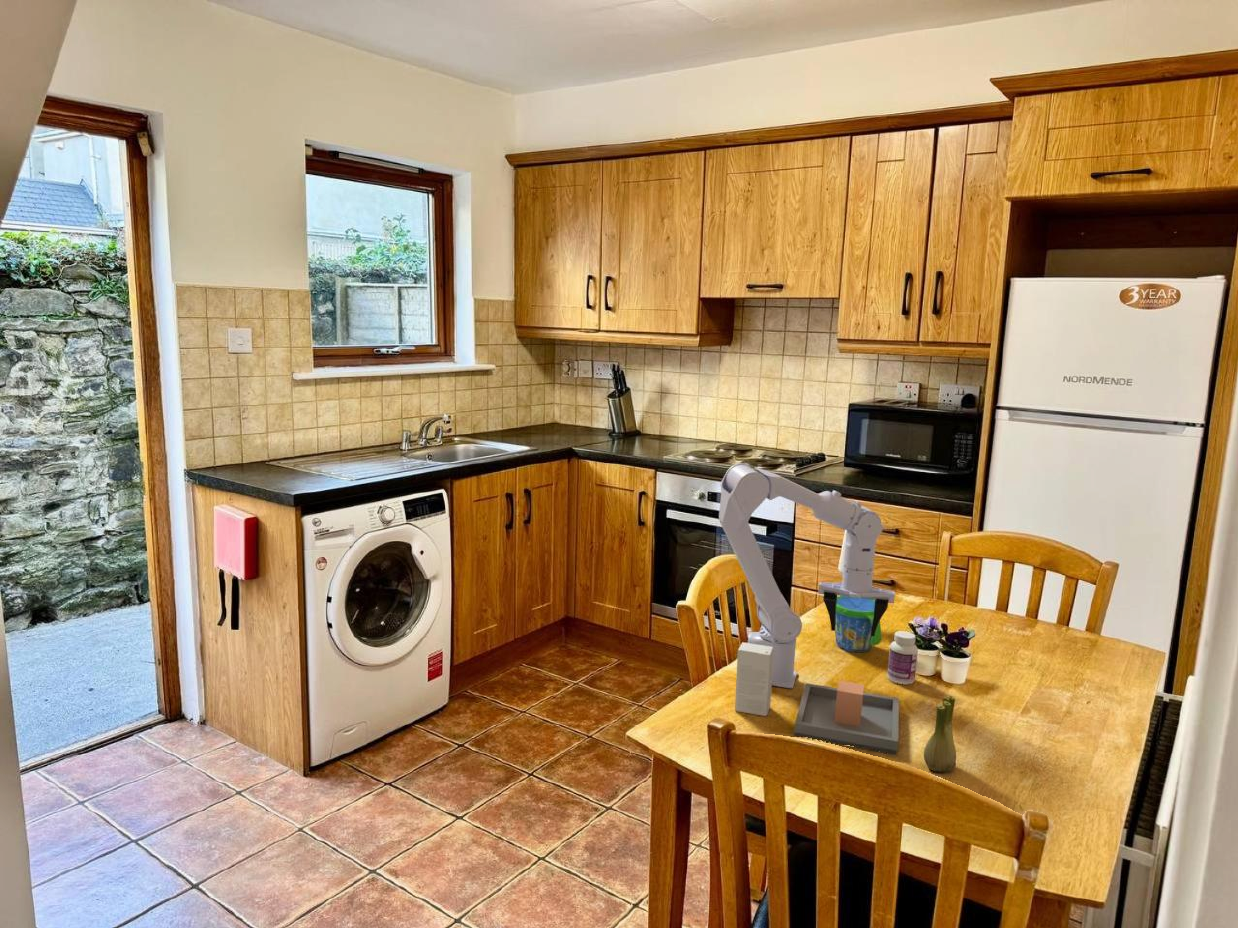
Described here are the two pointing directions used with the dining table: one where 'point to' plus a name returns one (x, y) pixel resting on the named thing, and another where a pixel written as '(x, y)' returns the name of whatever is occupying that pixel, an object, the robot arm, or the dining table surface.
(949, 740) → the fennel bulb
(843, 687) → the terracotta block
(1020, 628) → the dining table surface
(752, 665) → the skincare box
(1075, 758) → the dining table surface
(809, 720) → the grey bin
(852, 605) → the snack cup
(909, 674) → the pill bottle
